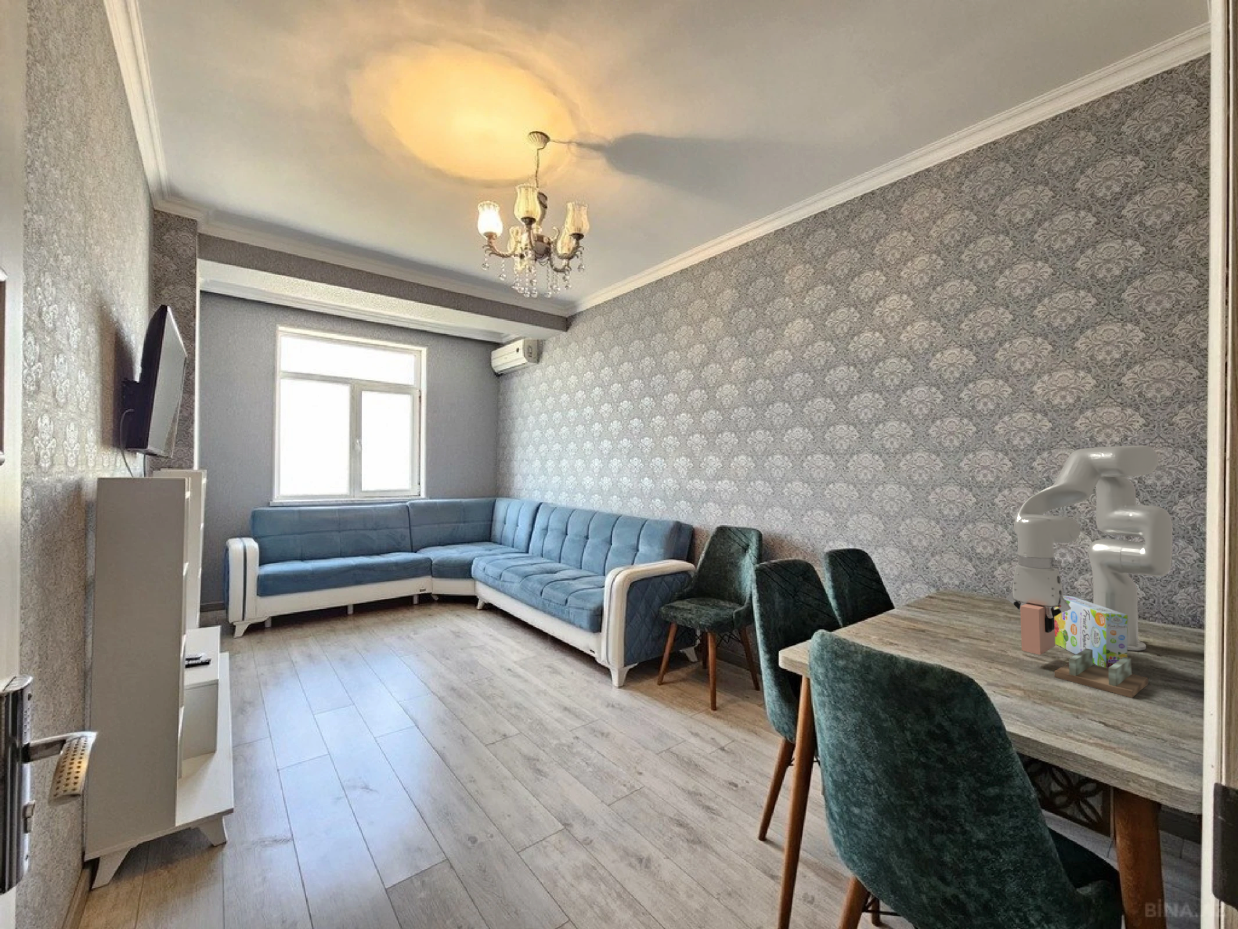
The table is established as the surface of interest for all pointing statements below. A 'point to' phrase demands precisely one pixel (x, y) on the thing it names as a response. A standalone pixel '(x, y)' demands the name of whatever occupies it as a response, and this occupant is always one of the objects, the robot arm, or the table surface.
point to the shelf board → (1102, 674)
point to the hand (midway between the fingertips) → (1038, 628)
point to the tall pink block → (1035, 629)
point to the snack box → (1092, 631)
